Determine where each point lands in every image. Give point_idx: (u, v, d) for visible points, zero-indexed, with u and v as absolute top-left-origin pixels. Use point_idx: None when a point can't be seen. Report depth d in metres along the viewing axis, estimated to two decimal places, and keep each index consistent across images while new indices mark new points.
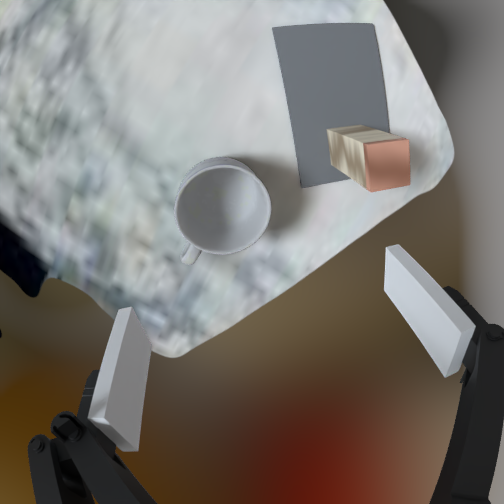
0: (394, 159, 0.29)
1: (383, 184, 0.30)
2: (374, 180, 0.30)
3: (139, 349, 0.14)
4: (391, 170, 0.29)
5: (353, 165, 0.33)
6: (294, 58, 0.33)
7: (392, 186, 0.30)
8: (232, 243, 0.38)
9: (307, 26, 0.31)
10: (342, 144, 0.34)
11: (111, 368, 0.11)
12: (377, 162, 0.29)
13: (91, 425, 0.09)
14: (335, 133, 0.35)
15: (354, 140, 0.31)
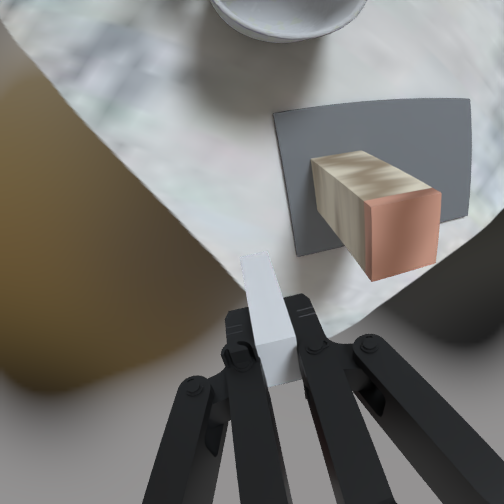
0: (415, 243, 0.18)
1: (381, 230, 0.17)
2: (390, 211, 0.16)
3: None
4: (399, 241, 0.17)
5: (369, 180, 0.20)
6: (441, 116, 0.25)
7: (374, 248, 0.17)
8: None
9: (470, 138, 0.27)
10: (376, 165, 0.22)
11: (260, 301, 0.13)
12: (416, 213, 0.17)
13: None
14: (376, 158, 0.24)
15: (413, 177, 0.19)
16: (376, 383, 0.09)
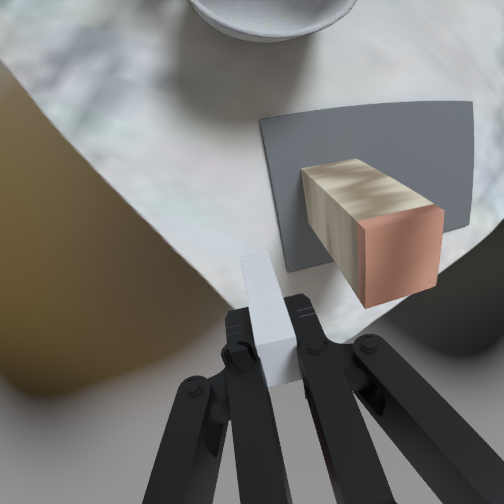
0: (414, 266, 0.16)
1: (376, 254, 0.15)
2: (386, 233, 0.15)
3: None
4: (397, 265, 0.16)
5: (364, 195, 0.18)
6: (442, 120, 0.24)
7: (368, 274, 0.16)
8: None
9: (472, 143, 0.25)
10: (371, 177, 0.20)
11: (260, 301, 0.13)
12: (415, 234, 0.15)
13: None
14: (371, 168, 0.22)
15: (412, 190, 0.17)
16: (376, 383, 0.09)
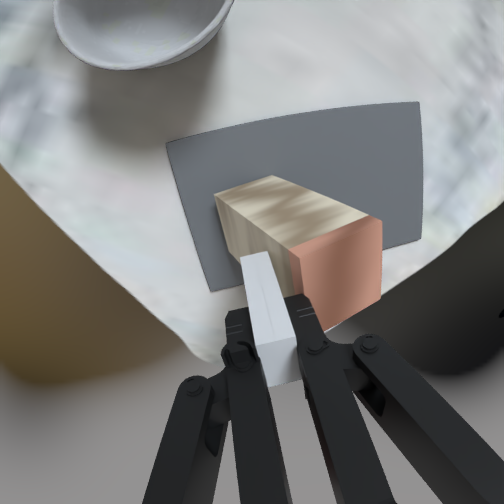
0: (356, 285, 0.16)
1: (314, 281, 0.14)
2: (323, 257, 0.14)
3: None
4: (338, 288, 0.15)
5: (289, 216, 0.17)
6: (379, 125, 0.24)
7: None
8: (70, 21, 0.12)
9: (420, 149, 0.25)
10: (293, 194, 0.20)
11: (260, 301, 0.13)
12: (354, 251, 0.15)
13: None
14: (291, 183, 0.22)
15: (341, 203, 0.17)
16: (376, 383, 0.09)
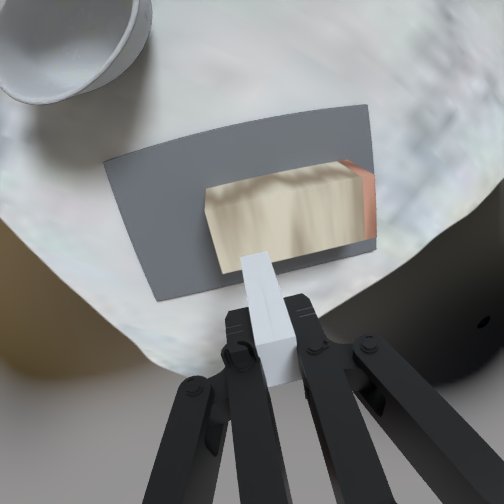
0: None
1: None
2: None
3: None
4: None
5: (314, 177, 0.22)
6: (319, 133, 0.24)
7: None
8: (7, 57, 0.13)
9: (370, 155, 0.25)
10: (271, 178, 0.24)
11: (260, 301, 0.13)
12: None
13: None
14: (245, 180, 0.25)
15: None
16: (376, 383, 0.09)
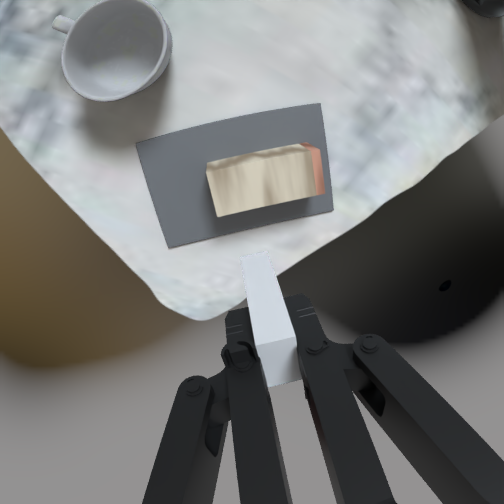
0: None
1: None
2: None
3: None
4: None
5: (279, 152, 0.33)
6: (285, 124, 0.34)
7: None
8: (72, 67, 0.23)
9: (323, 139, 0.36)
10: (251, 154, 0.35)
11: (260, 301, 0.13)
12: None
13: None
14: (234, 156, 0.35)
15: (280, 147, 0.36)
16: (376, 383, 0.09)
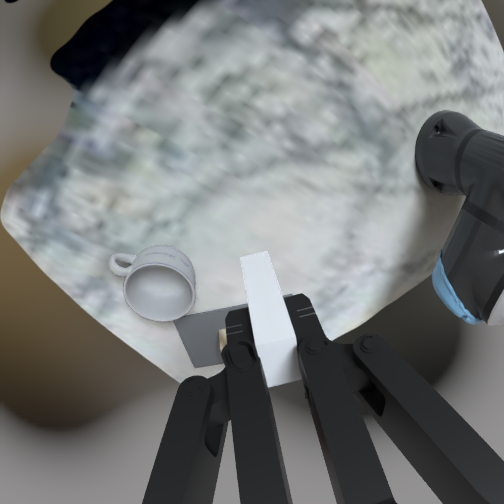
0: None
1: None
2: None
3: None
4: None
5: None
6: None
7: None
8: (130, 294, 0.45)
9: None
10: None
11: (260, 301, 0.13)
12: None
13: None
14: None
15: None
16: (376, 383, 0.09)
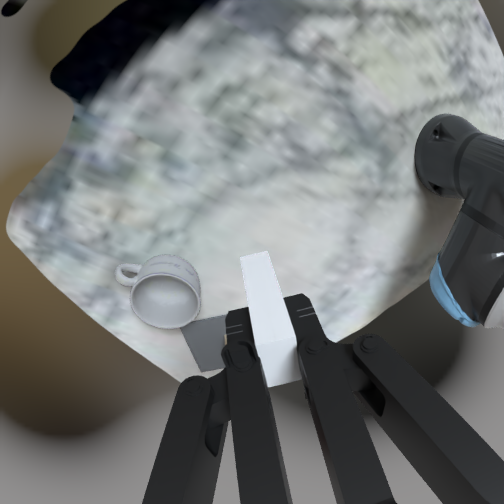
0: None
1: None
2: None
3: None
4: None
5: None
6: None
7: None
8: (137, 302, 0.47)
9: None
10: None
11: (260, 301, 0.13)
12: None
13: None
14: None
15: None
16: (376, 383, 0.09)
